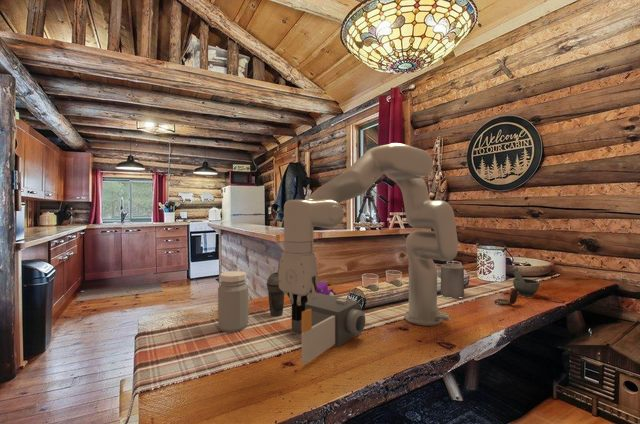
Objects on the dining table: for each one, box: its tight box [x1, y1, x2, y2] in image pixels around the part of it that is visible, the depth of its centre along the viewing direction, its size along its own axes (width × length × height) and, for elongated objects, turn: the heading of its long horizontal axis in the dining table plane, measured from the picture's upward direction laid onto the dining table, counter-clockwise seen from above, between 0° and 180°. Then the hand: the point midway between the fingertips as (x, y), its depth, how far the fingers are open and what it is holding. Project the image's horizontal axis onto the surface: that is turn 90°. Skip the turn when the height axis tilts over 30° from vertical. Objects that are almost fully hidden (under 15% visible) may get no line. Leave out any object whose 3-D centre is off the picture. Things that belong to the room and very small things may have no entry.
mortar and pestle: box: [511, 267, 540, 298], centre depth 136 cm, size 11×9×12 cm
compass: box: [494, 287, 518, 306], centre depth 124 cm, size 8×8×7 cm
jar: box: [217, 270, 249, 333], centre depth 100 cm, size 10×10×18 cm
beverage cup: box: [266, 260, 285, 318], centre depth 112 cm, size 7×7×20 cm
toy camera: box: [302, 281, 335, 297], centre depth 121 cm, size 11×14×10 cm
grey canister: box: [440, 262, 465, 298], centre depth 136 cm, size 10×10×15 cm
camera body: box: [291, 292, 366, 348], centre depth 95 cm, size 22×12×11 cm, turn 53°
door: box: [301, 309, 335, 366], centre depth 80 cm, size 14×1×13 cm, turn 144°
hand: (298, 318), depth 78 cm, fingers closed
